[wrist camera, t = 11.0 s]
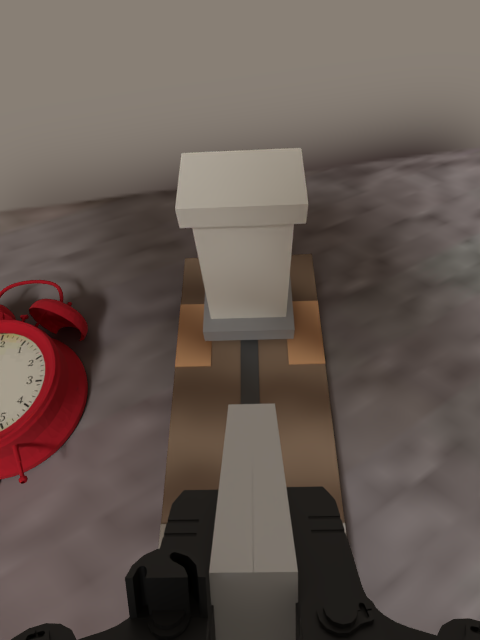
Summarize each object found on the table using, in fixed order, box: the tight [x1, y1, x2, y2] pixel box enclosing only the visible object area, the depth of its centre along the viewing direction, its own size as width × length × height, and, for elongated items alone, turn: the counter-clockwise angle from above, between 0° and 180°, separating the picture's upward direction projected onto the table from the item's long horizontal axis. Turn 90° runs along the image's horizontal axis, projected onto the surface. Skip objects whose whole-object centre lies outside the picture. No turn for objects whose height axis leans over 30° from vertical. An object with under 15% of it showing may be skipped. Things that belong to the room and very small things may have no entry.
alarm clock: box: [0, 280, 88, 484], centre depth 28 cm, size 10×6×15 cm
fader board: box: [158, 254, 347, 549], centre depth 27 cm, size 24×10×2 cm, turn 0°
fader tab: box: [175, 148, 308, 341], centre depth 24 cm, size 5×6×11 cm
